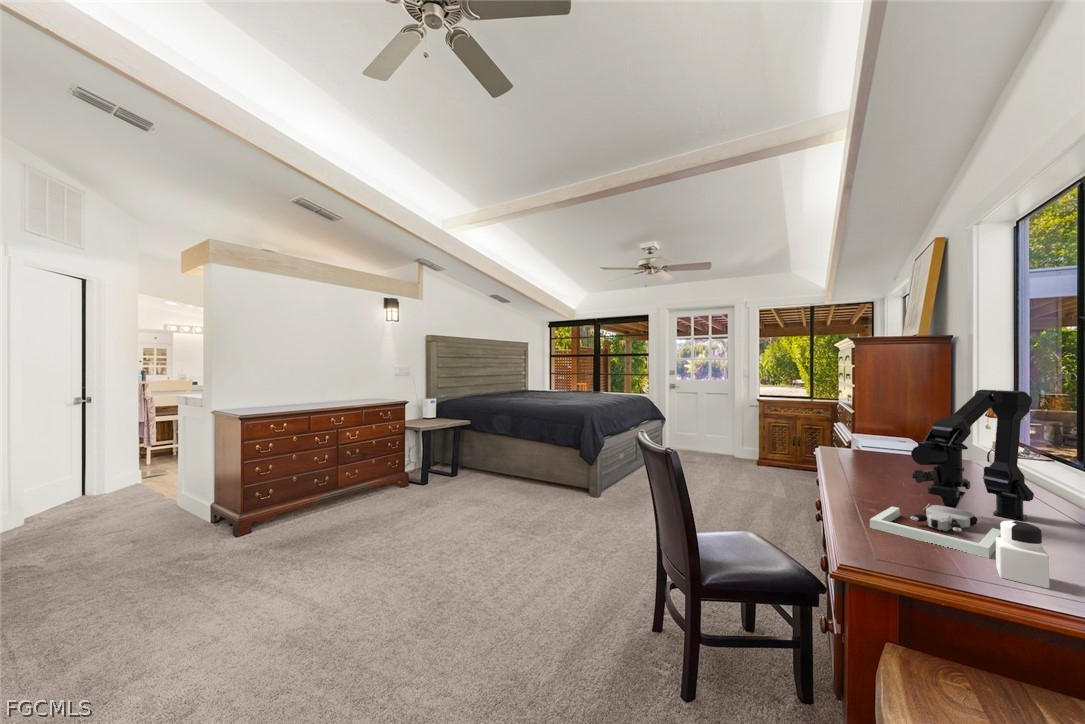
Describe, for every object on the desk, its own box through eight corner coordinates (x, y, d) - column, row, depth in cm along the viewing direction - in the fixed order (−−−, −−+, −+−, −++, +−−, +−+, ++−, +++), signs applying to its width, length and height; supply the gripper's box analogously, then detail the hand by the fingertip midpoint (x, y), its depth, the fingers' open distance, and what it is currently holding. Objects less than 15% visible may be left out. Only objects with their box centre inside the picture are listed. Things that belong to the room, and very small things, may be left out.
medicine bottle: (1043, 577, 93) (1042, 523, 93) (1049, 589, 87) (1048, 532, 88) (995, 566, 98) (995, 515, 98) (999, 578, 92) (998, 523, 93)
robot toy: (963, 542, 113) (984, 528, 120) (962, 526, 113) (984, 513, 120) (907, 527, 124) (930, 515, 131) (906, 512, 124) (929, 501, 131)
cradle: (892, 514, 133) (891, 506, 133) (1003, 539, 113) (1003, 530, 113) (869, 527, 121) (869, 519, 121) (989, 558, 102) (988, 548, 102)
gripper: (923, 455, 140) (924, 501, 140) (905, 463, 129) (906, 513, 129) (970, 461, 131) (971, 511, 130) (955, 470, 120) (956, 524, 120)
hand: (949, 514), depth 128 cm, fingers closed
